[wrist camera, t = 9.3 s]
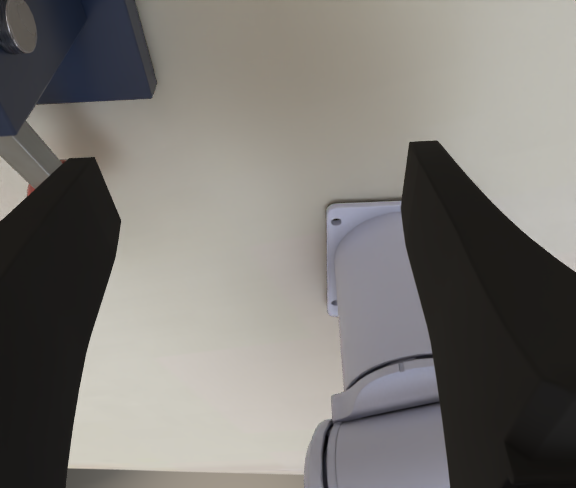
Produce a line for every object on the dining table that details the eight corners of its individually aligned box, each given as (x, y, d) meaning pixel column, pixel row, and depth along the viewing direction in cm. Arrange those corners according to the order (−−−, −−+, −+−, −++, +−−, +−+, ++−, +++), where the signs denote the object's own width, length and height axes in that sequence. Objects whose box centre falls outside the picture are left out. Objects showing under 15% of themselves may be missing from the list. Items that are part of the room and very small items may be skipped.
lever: (118, 180, 24) (110, 241, 23) (54, 183, 24) (43, 243, 23) (-54, -62, 13) (-87, 30, 12) (-171, -54, 13) (-214, 38, 12)
